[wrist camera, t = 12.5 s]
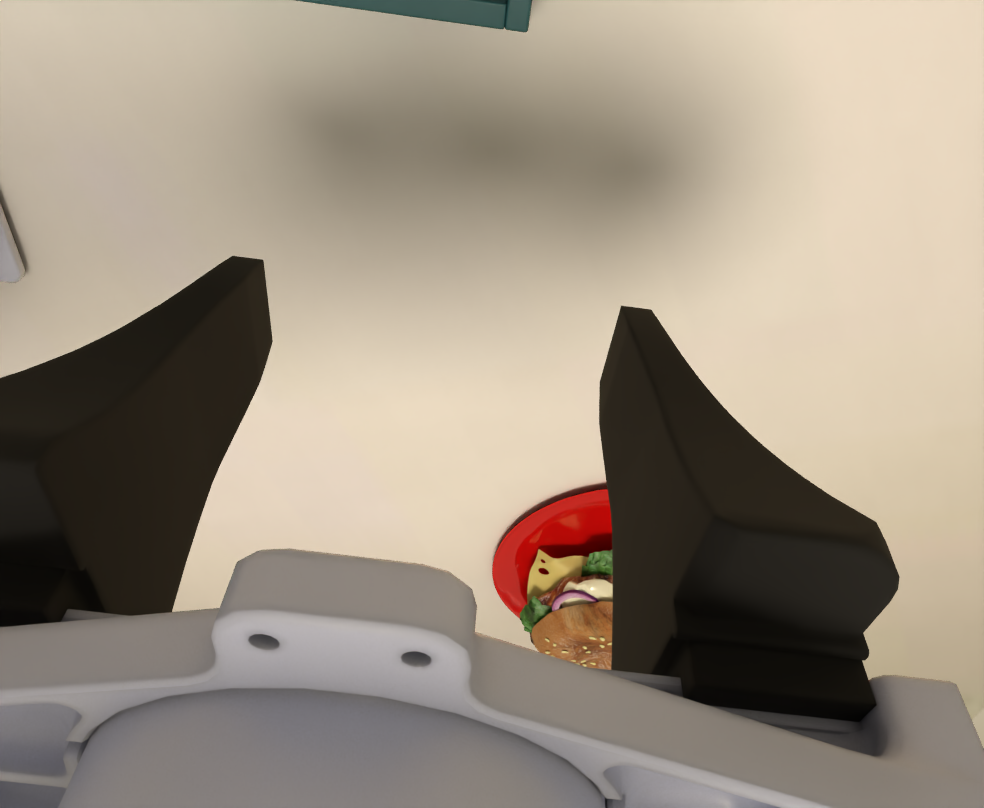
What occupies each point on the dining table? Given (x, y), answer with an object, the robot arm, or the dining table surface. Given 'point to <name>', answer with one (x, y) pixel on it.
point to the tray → (450, 10)
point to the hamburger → (562, 578)
